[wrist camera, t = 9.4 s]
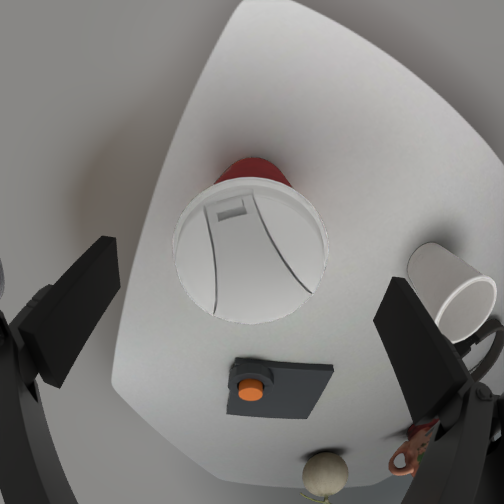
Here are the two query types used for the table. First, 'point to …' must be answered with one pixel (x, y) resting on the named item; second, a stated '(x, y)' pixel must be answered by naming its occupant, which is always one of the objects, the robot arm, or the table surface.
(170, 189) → the table surface
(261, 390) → the button
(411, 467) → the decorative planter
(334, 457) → the fruit
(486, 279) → the dixie cup
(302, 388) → the scale
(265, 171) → the coffee cup
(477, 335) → the headphones
